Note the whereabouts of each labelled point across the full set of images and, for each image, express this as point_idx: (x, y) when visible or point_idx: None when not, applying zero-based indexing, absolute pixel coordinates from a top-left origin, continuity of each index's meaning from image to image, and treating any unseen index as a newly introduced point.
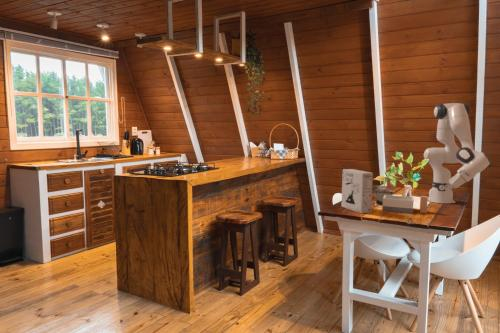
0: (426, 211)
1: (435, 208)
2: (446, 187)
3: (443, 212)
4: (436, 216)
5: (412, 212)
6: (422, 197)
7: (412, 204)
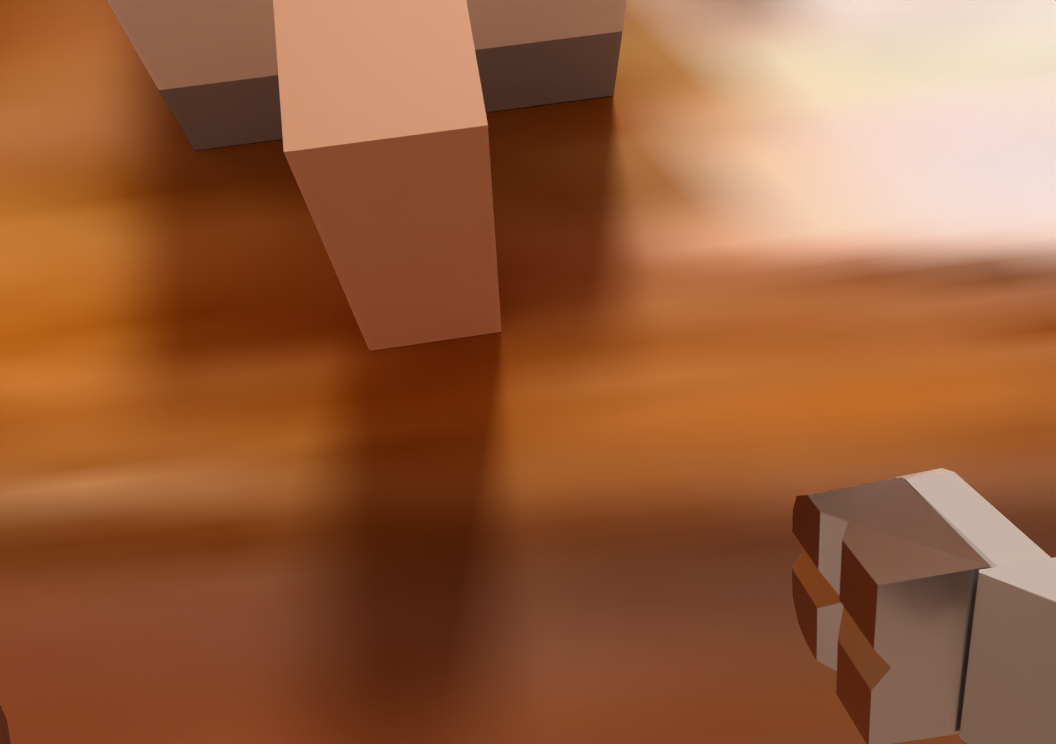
0: (364, 332)
1: (1014, 439)
2: (841, 626)
3: (660, 652)
4: (110, 565)
5: (187, 135)
6: (277, 46)
7: (122, 14)
